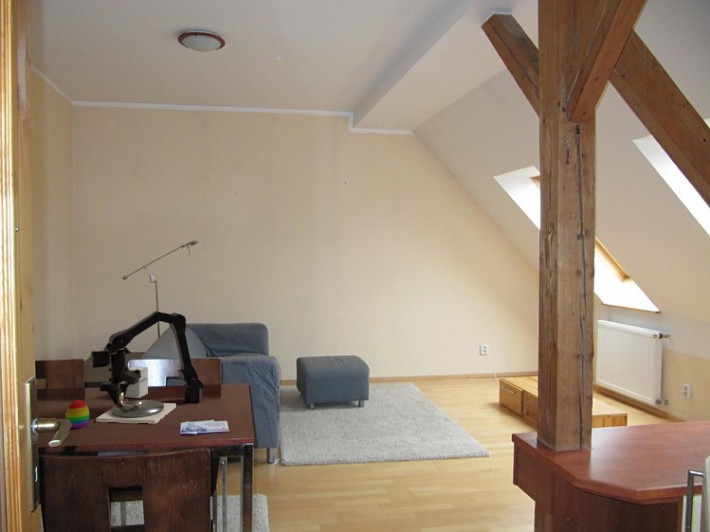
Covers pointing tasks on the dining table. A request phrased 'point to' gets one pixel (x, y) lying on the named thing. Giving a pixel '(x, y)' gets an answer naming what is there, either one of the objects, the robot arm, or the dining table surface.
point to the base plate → (145, 419)
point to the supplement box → (138, 384)
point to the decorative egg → (77, 414)
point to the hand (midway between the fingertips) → (119, 402)
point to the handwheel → (136, 407)
